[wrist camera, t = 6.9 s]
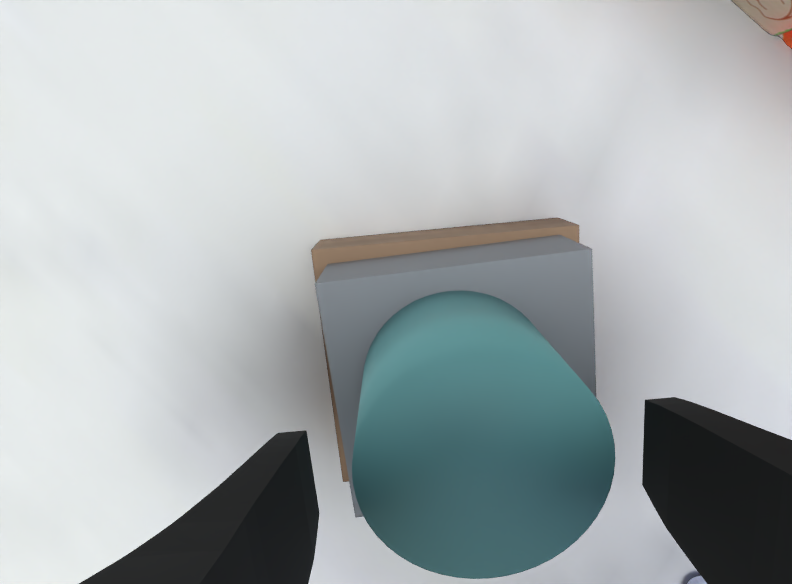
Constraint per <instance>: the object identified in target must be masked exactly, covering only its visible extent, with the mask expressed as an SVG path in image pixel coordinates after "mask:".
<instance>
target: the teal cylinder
mask: <svg viewBox="0 0 792 584" xmlns="http://www.w3.org/2000/svg"><path fill="white" fill-rule="evenodd" d="M614 467H615V445H614V439H613V435H612V430H611V427H610V424H609V421H608V419H607V416H606V414H605V412H604V410H603V408H602V407H601V405H600V403H599V401H598V400H597V398H596V397H595V396H594V395H593V393H592V392H591V391H590V389H589V388H588V387H587V386H586V385H585V384H584V382H583V381H582V380H581V379H580V378H579V377H578V376H577V374H576V373H575V372H574V371H573V370H572V369H571V367H570V366H569V365H568V364H567V363H566V362H565V361H564V359H563V358H562V357H561V356H560V355H559V354H558V353H557V351H556V350H555V349H554V348H553V347H552V346H551V345H550V343H549V342H548V341H547V340H546V339H545V338H544V336H543V335H542V334H541V333H540V332H539V331H538V330H537V328H536V327H535V326H534V325H533V324H532V323H531V322H530V320H529V319H528V318H527V317H525V316H524V315H523V314H522V313H521V312H520V311H519V310H517V309H516V308H515V307H513V306H512V305H510V304H509V303H507V302H505V301H503V300H501V299H499V298H496V297H494V296H491V295H488V294H484V293H479V292H474V291H464V290H463V291H446V292H440V293H436V294H432V295H429V296H425V297H423V298H421V299H418V300H416V301H414V302H412V303H410V304H409V305H407V306H405V307H403V308H402V309H401V310H399V311H398V312H397V313H396V314H394V315H393V316H392V317H391V318H390V319H389V320H388V321H387V322H386V323H385V324H384V325H383V327H382V328H381V329H380V331H379V332H378V333H377V335H376V337H375V338H374V340H373V342H372V344H371V346H370V348H369V351H368V353H367V356H366V361H365V365H364V371H363V379H362V387H361V394H360V402H359V410H358V418H357V426H356V434H355V442H354V449H353V459H352V480H353V486H354V491H355V496H356V499H357V502H358V504H359V507H360V510H361V512H362V514H363V516H364V517H365V519H366V521H367V523H368V524H369V526H370V527H371V528H372V530H373V531H374V533H375V534H376V535H377V536H378V537H379V538H380V539H381V540H382V541H383V542H384V543H385V544H386V546H388V547H389V548H390V549H391V550H393V551H394V552H395V553H396V554H398V555H399V556H401V557H402V558H404V559H406V560H407V561H409V562H411V563H412V564H415V565H417V566H419V567H421V568H424V569H426V570H429V571H432V572H435V573H438V574H442V575H447V576H452V577H458V578H470V579H480V578H495V577H502V576H507V575H511V574H515V573H519V572H523V571H525V570H528V569H531V568H534V567H536V566H538V565H540V564H542V563H544V562H546V561H548V560H550V559H552V558H554V557H555V556H557V555H558V554H560V553H561V552H563V551H564V550H566V549H567V548H568V547H569V546H571V545H572V544H573V543H574V542H575V541H577V540H578V539H579V537H580V536H581V535H582V534H583V533H584V532H585V531H586V530H587V529H588V528H589V527H590V525H591V524H592V523H593V521H594V520H595V519H596V517H597V516H598V514H599V512H600V510H601V508H602V507H603V505H604V503H605V501H606V498H607V496H608V493H609V491H610V488H611V483H612V479H613V475H614Z"/></svg>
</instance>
